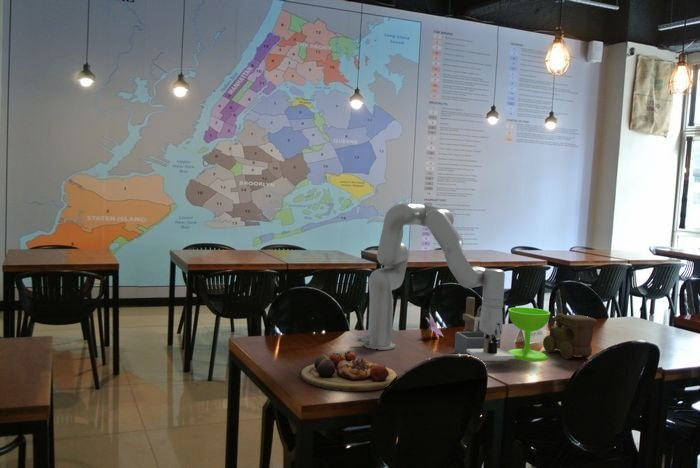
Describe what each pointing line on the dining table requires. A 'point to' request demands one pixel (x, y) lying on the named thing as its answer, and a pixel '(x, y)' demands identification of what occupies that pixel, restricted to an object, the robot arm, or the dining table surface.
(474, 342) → the toolbox
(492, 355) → the lid
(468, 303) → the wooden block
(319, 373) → the wooden plate with food
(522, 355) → the wineglass
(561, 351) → the wooden toy train
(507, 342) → the dining table surface
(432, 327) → the lily
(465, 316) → the tan bar
